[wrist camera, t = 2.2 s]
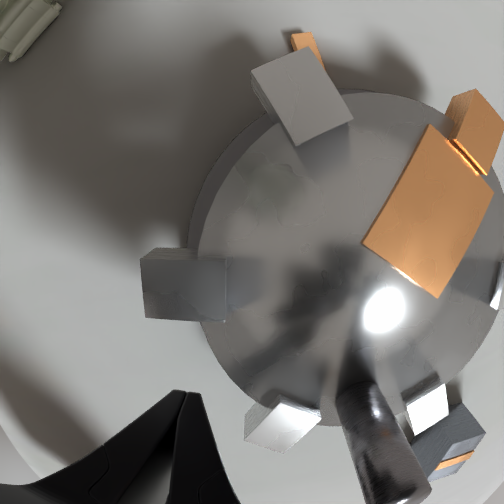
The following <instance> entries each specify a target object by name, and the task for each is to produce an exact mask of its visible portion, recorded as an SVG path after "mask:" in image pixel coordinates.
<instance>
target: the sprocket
mask: <svg viewBox="0 0 504 504" xmlns="http://www.w3.org/2000/svg"><path fill="white" fill-rule="evenodd" d="M251 88H252V89H253V91H254V93H255V94H256V96H257V97H258V99H259V101H260V102H261V104H262V106H263V107H264V109H265V111H266V112H267V114H268V116H269V117H270V119H271V121H272V122H273V124H274V126H272V127H271V128H270V129H269V130H268V131H266V132H265V133H264V134H263V135H262V136H261V137H260V138H259V139H258V140H256V141H255V142H254V143H253V144H252V145H251V146H250V147H249V148H248V149H247V151H246V152H245V153H244V154H243V155H242V157H241V158H240V159H239V160H238V162H237V163H236V164H235V165H234V166H233V168H232V169H231V171H230V172H229V174H228V176H227V177H226V179H225V181H224V182H223V184H222V185H221V187H220V189H219V190H218V192H217V194H216V196H215V199H214V201H213V203H212V206H211V208H210V211H209V213H208V215H207V218H206V221H205V224H204V228H203V232H202V236H201V240H200V243H199V248H157V247H156V248H155V249H153V250H152V251H150V252H149V253H148V254H146V255H145V256H143V257H142V258H141V259H140V267H141V279H142V290H143V300H144V309H145V317H146V318H155V319H169V320H184V321H201V323H202V326H203V329H204V332H205V334H206V337H207V340H208V343H209V345H210V347H211V349H212V351H213V353H214V355H215V356H216V358H217V360H218V362H219V363H220V365H221V366H222V368H223V369H224V370H225V372H226V373H227V374H228V376H229V377H230V378H231V379H232V381H233V382H234V383H235V384H236V385H237V386H238V387H239V388H240V389H241V390H242V391H243V392H244V393H246V394H247V395H248V396H250V397H251V398H252V399H254V400H255V401H256V403H255V404H254V405H253V406H252V407H251V409H250V410H249V411H248V412H247V413H246V414H245V427H244V441H247V442H250V443H253V444H255V445H258V446H261V447H264V448H267V449H270V450H273V451H277V452H280V453H283V454H284V453H285V452H286V451H287V450H288V449H289V448H291V447H292V446H293V445H294V444H295V443H296V442H297V441H298V440H300V439H301V438H302V437H303V436H304V435H305V434H306V433H307V432H308V431H309V430H310V429H311V428H312V427H314V426H315V425H323V426H342V429H343V432H344V435H345V438H346V441H347V444H348V447H349V451H350V454H351V457H352V460H353V463H354V466H355V470H356V473H357V476H358V479H359V483H360V486H361V489H362V493H363V496H364V499H365V503H366V504H419V503H421V502H422V501H423V500H424V499H426V498H427V497H428V495H429V494H430V493H431V490H432V488H431V486H430V484H429V482H428V480H427V478H426V476H425V474H424V472H423V470H422V468H421V466H420V464H419V462H418V460H417V458H416V456H415V454H414V452H413V450H412V448H411V446H410V444H409V442H408V440H407V438H406V436H405V435H404V433H403V431H402V429H401V427H400V425H399V423H398V421H397V419H396V418H395V416H394V415H397V414H399V413H401V412H403V414H404V416H405V418H406V420H407V422H408V423H409V425H410V427H411V429H412V431H413V432H414V434H415V435H417V434H418V433H420V432H422V431H423V430H425V429H427V428H428V427H430V426H432V425H433V424H435V423H436V422H438V421H440V420H441V419H443V418H444V417H446V416H447V415H449V411H448V403H447V395H446V388H445V385H446V384H447V383H448V382H449V381H451V380H452V379H453V378H454V377H455V376H456V375H457V374H458V373H459V372H460V371H461V370H462V369H463V367H464V366H465V365H466V364H467V363H468V362H469V361H470V359H471V358H472V357H473V355H474V354H475V353H476V351H477V350H478V348H479V347H480V346H481V344H482V343H483V341H484V339H485V338H486V336H487V334H488V332H489V331H490V329H491V327H492V325H493V323H494V320H495V318H496V316H497V314H498V311H499V309H504V194H503V191H502V188H501V185H500V182H499V180H498V178H497V176H496V174H495V172H494V170H493V168H492V166H491V165H492V162H493V160H494V157H495V154H496V152H497V149H498V146H499V143H500V140H501V137H502V134H503V131H504V121H503V120H502V119H501V117H500V116H499V115H498V114H497V112H496V111H495V110H494V109H493V108H492V106H491V105H490V104H489V103H488V102H487V101H486V99H485V98H484V97H483V96H482V95H481V94H480V93H479V92H478V90H477V89H473V90H470V91H467V92H464V93H462V94H459V95H456V96H453V97H452V99H451V102H450V104H449V106H448V108H447V111H446V113H445V115H444V114H443V113H441V112H439V111H438V110H436V109H434V108H433V107H430V106H428V105H426V104H423V103H421V102H418V101H416V100H413V99H410V98H406V97H402V96H398V95H393V94H386V93H371V92H365V93H354V94H344V95H340V94H339V92H338V90H337V89H336V87H335V85H334V84H333V82H332V81H331V79H330V77H329V76H328V74H327V73H326V71H325V70H324V68H323V67H322V65H321V63H320V62H319V60H318V59H317V57H316V56H315V55H314V53H313V52H312V50H311V49H310V47H309V46H308V47H305V48H303V49H300V50H297V51H295V52H292V53H290V54H287V55H285V56H282V57H280V58H278V59H275V60H273V61H270V62H268V63H266V64H264V65H261V66H259V67H257V68H255V69H253V70H251Z"/></svg>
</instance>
